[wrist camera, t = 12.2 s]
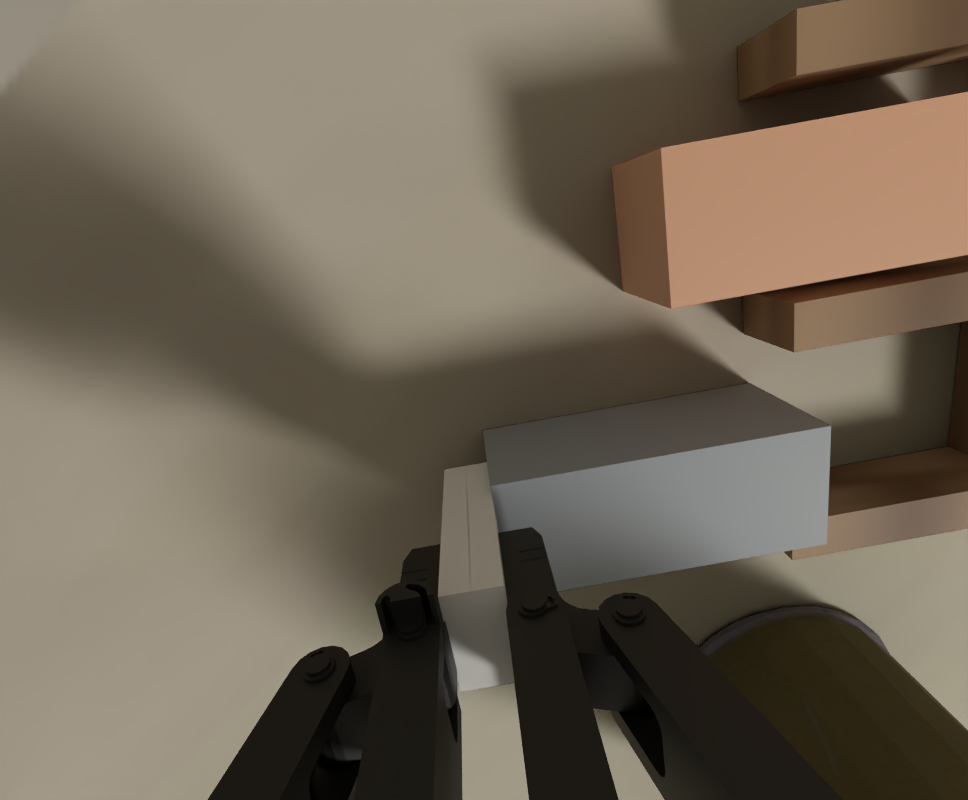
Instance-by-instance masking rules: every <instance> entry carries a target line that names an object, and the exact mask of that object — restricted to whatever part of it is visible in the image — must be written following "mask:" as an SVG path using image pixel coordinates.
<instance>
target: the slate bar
mask: <svg viewBox="0 0 968 800" xmlns="http://www.w3.org/2000/svg"><path fill="white" fill-rule="evenodd" d="M482 431H483V438H484V445H485V452H486V460H487V467H488V474H489V482H490V488H491V494H492V499H493V504H494V509H495V515H496V520H497V525H498V531H499V533H500V532H506V531H512V530H517V529H523V528H529V527H533V528H534V529H535V530H536V531H537V532H538V533H540V534H541V535H542V538H543V541H544V545H545V549H546V552H547V556H548V559H549V563H550V567H551V570H552V574H553V577H554V581H555V585H556V588H557V592H558V591H564V590H570V589H575V588H581V587H587V586H592V585H598V584H604V583H609V582H615V581H621V580H626V579H632V578H638V577H643V576H649V575H655V574H660V573H666V572H671V571H677V570H683V569H688V568H694V567H700V566H705V565H711V564H717V563H722V562H728V561H734V560H739V559H745V558H751V557H756V556H762V555H768V554H773V553H779V552H785V551H790V550H796V549H802V548H807V547H813V546H819V545H824V544H827V528H828V500H829V473H830V446H831V426H830V425H829V424H827V423H825V422H823V421H821V420H819V419H817V418H815V417H813V416H811V415H810V414H808V413H806V412H804V411H802V410H800V409H798V408H796V407H794V406H792V405H791V404H789V403H787V402H785V401H783V400H781V399H779V398H777V397H775V396H773V395H772V394H770V393H768V392H766V391H764V390H762V389H760V388H758V387H756V386H754V385H753V384H751V383H747V384H741V385H735V386H730V387H724V388H718V389H713V390H707V391H702V392H696V393H690V394H685V395H679V396H673V397H668V398H662V399H656V400H651V401H645V402H640V403H634V404H628V405H623V406H617V407H611V408H606V409H600V410H594V411H589V412H583V413H578V414H572V415H566V416H561V417H555V418H549V419H544V420H538V421H533V422H527V423H521V424H516V425H510V426H504V427H499V428H493V429H487V430H482Z"/></svg>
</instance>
